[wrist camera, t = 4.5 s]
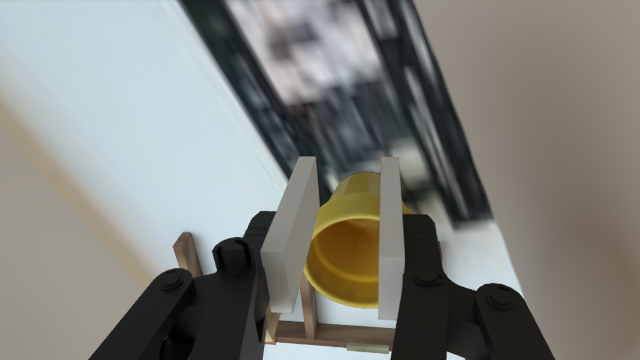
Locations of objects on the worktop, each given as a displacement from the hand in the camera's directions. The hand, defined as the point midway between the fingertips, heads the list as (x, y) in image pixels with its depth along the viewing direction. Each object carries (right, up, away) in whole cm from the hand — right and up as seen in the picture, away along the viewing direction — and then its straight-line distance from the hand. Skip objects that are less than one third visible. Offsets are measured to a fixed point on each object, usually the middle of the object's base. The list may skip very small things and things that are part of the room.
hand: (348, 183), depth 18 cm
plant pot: (+4, -2, +22) cm, 23 cm away
